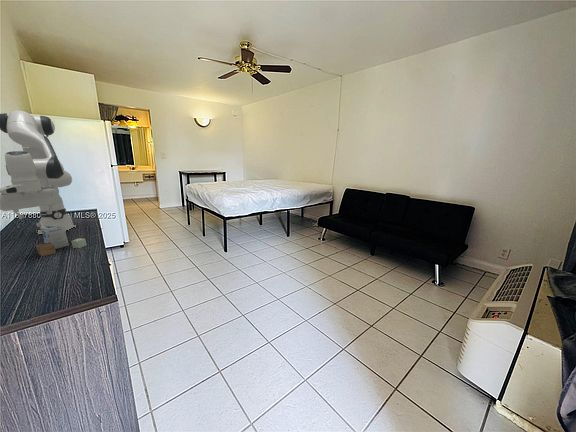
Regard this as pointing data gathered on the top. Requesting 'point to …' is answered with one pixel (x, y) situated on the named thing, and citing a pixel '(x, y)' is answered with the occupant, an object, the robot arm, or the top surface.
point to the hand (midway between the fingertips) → (36, 216)
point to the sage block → (79, 243)
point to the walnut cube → (46, 249)
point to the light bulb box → (55, 235)
